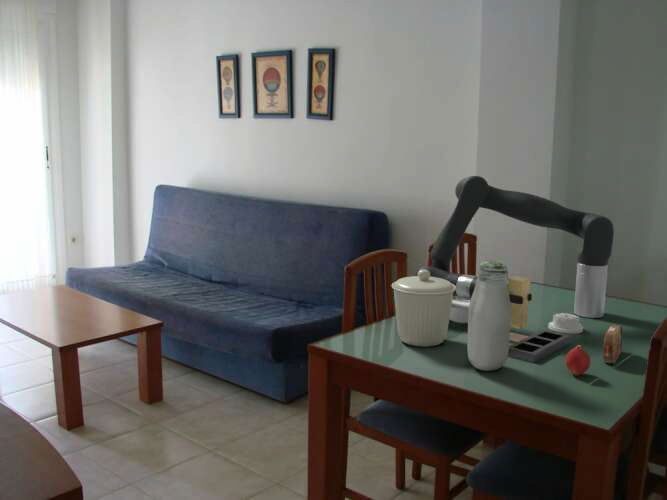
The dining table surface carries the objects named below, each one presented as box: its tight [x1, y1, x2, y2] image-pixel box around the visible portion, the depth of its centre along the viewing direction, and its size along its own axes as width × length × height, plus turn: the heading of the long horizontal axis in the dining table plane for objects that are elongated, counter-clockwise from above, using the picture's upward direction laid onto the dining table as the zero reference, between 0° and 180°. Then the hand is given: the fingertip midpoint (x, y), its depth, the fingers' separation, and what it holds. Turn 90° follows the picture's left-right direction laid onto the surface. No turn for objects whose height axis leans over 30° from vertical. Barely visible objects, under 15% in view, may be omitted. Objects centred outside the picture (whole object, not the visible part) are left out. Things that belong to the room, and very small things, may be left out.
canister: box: [391, 270, 456, 348], centre depth 182 cm, size 18×18×21 cm
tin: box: [603, 324, 623, 365], centre depth 170 cm, size 15×3×8 cm, turn 148°
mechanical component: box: [547, 312, 584, 335], centre depth 196 cm, size 10×4×10 cm
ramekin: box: [449, 299, 471, 324], centre depth 206 cm, size 11×11×5 cm
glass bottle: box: [467, 260, 511, 372], centre depth 160 cm, size 10×10×28 cm
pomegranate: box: [564, 344, 591, 377], centre depth 158 cm, size 6×6×8 cm
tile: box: [509, 331, 530, 343], centre depth 187 cm, size 7×7×1 cm
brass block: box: [507, 275, 531, 330], centre depth 185 cm, size 4×4×14 cm
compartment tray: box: [507, 329, 570, 364], centre depth 177 cm, size 22×8×2 cm, turn 137°
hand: (526, 299), depth 183 cm, fingers closed on brass block, 4 cm apart
